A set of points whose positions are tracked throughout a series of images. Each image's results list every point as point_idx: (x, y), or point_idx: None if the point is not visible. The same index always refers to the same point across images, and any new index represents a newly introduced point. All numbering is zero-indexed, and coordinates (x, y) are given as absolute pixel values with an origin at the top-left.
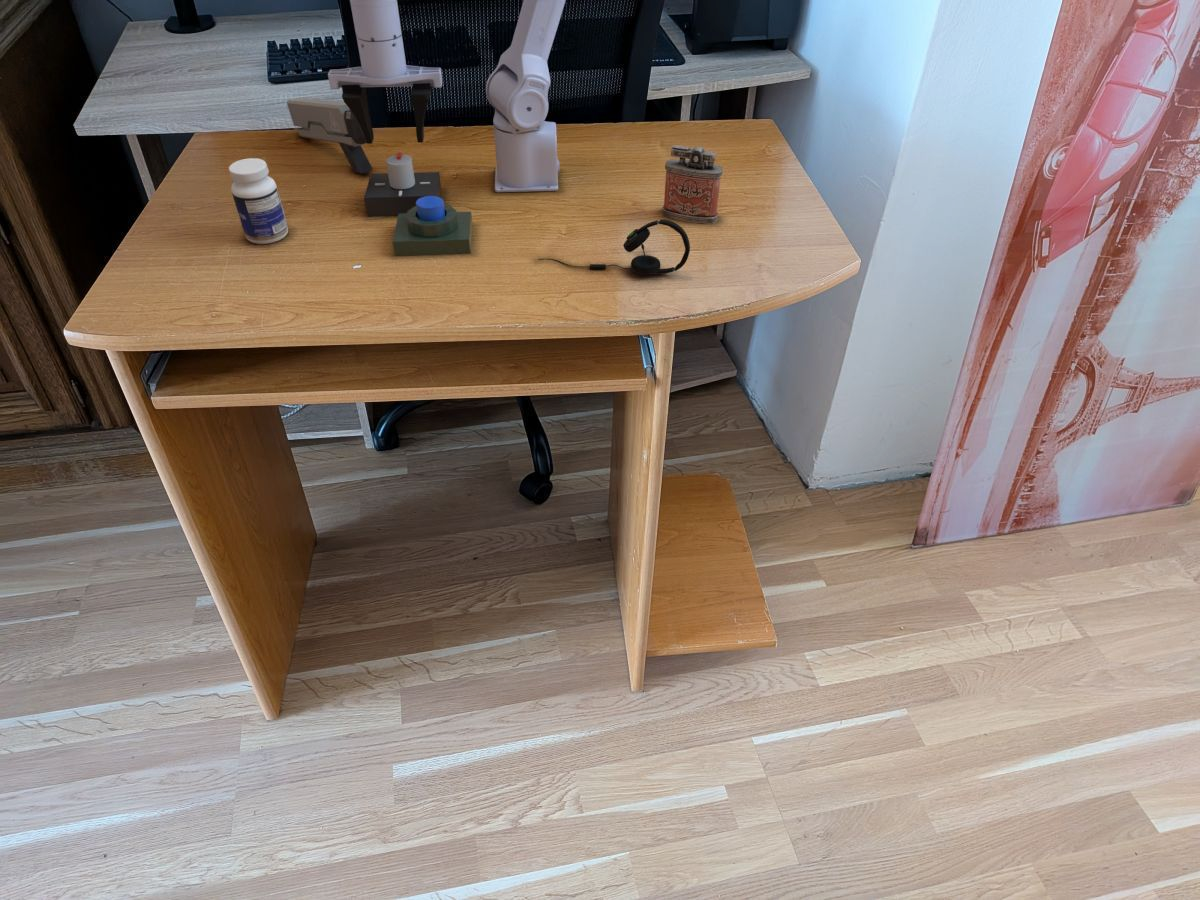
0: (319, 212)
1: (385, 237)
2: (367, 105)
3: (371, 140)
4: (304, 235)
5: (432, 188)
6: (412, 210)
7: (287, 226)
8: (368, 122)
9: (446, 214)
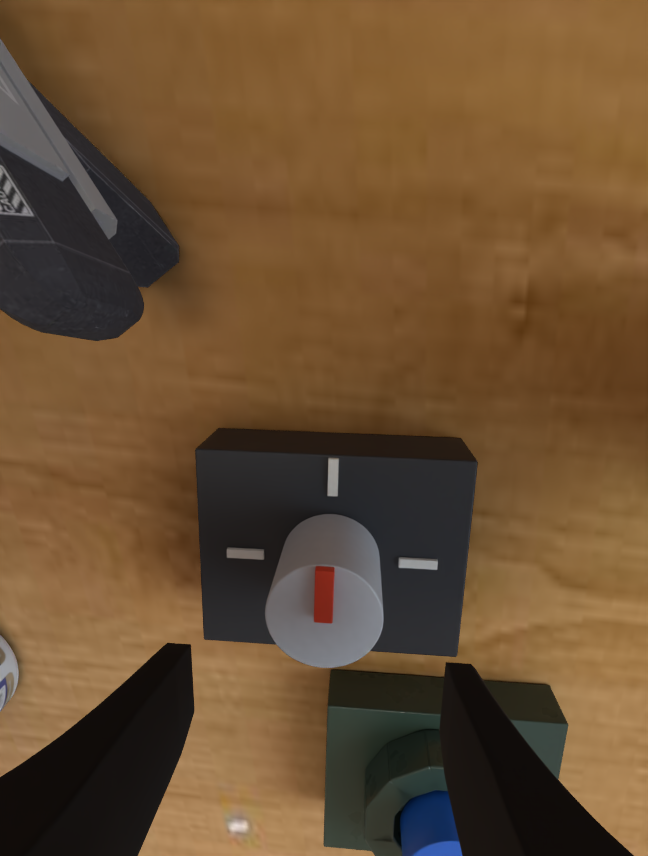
0: (69, 546)
1: (291, 709)
2: (91, 791)
3: (188, 725)
4: (66, 670)
5: (446, 604)
6: (383, 807)
7: (7, 667)
8: (144, 776)
9: None
